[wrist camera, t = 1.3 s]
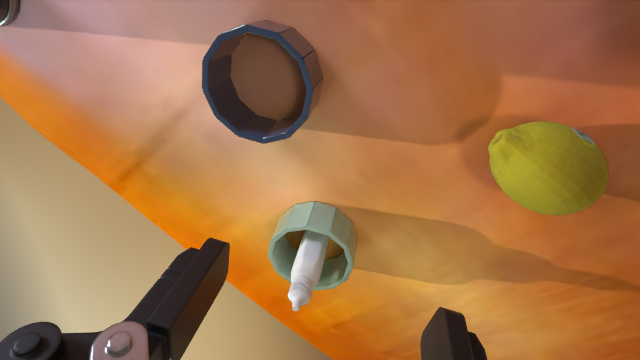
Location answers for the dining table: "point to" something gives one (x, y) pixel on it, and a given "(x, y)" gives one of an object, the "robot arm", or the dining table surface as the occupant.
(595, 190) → the lemon
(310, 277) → the eye dropper bottle
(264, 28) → the slate cup
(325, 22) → the dining table surface
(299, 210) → the celadon cup
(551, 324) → the dining table surface
